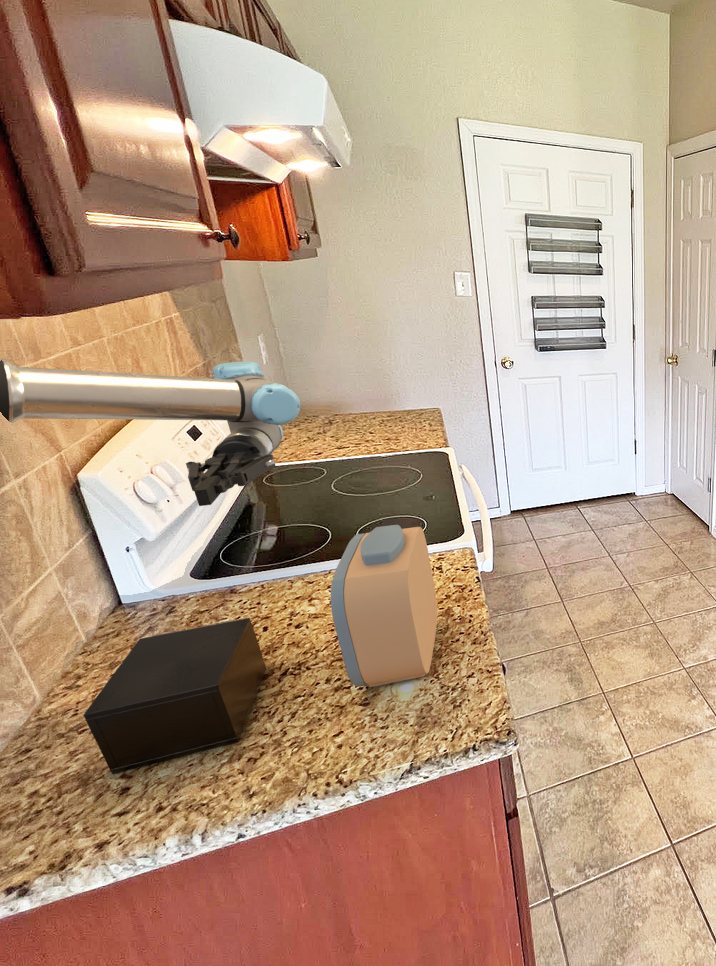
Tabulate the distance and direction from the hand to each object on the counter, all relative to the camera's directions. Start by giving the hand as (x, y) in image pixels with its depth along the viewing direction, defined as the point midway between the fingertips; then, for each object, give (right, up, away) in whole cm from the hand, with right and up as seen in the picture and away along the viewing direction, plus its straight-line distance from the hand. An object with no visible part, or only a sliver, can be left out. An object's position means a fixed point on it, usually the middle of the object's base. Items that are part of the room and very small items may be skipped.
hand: (202, 497), depth 91 cm
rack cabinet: (+9, -30, -11) cm, 34 cm away
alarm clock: (+31, -26, +1) cm, 41 cm away
